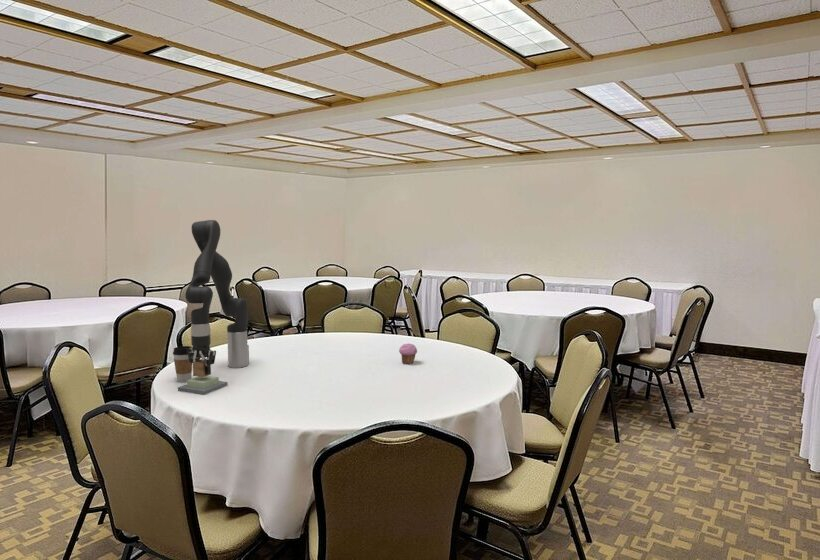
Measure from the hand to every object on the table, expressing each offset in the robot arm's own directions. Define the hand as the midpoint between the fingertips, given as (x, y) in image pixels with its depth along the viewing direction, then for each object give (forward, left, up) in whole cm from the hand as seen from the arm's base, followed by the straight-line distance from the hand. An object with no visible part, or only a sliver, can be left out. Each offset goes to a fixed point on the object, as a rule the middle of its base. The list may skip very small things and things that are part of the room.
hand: (202, 373), depth 233 cm
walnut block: (0, 0, -1) cm, 1 cm away
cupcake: (-71, +65, -7) cm, 97 cm away
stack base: (0, 0, -6) cm, 6 cm away
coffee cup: (-6, -16, -7) cm, 18 cm away
